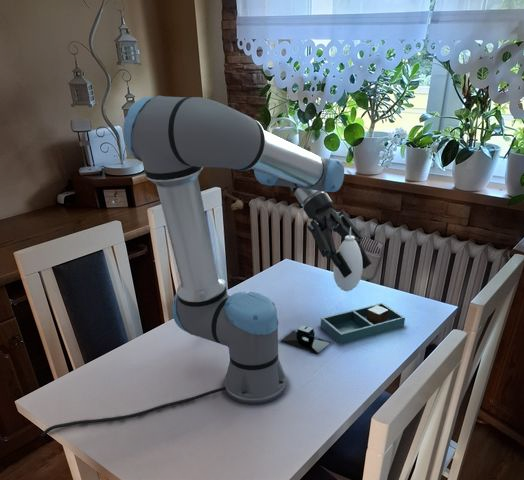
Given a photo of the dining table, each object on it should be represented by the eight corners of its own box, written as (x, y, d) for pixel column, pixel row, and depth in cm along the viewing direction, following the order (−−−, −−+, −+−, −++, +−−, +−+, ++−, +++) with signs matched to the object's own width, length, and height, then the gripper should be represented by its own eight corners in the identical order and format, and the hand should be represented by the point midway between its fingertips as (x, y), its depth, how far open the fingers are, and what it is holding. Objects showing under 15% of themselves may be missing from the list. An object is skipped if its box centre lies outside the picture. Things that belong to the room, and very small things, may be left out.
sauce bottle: (363, 286, 138) (368, 223, 129) (357, 297, 132) (362, 232, 123) (335, 283, 141) (339, 221, 131) (329, 294, 134) (332, 230, 125)
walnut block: (377, 327, 143) (379, 314, 141) (366, 322, 146) (367, 309, 144) (387, 323, 146) (388, 309, 143) (375, 317, 149) (377, 305, 146)
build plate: (330, 343, 137) (331, 329, 135) (317, 355, 132) (317, 340, 130) (293, 331, 144) (293, 317, 141) (279, 342, 139) (279, 328, 136)
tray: (340, 344, 136) (341, 334, 135) (320, 327, 145) (320, 317, 143) (403, 327, 143) (405, 317, 142) (381, 312, 152) (382, 302, 151)
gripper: (330, 200, 141) (371, 266, 140) (280, 216, 129) (325, 288, 128) (346, 184, 135) (389, 253, 134) (295, 199, 123) (342, 275, 122)
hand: (358, 270), depth 131 cm, fingers closed on sauce bottle, 8 cm apart
